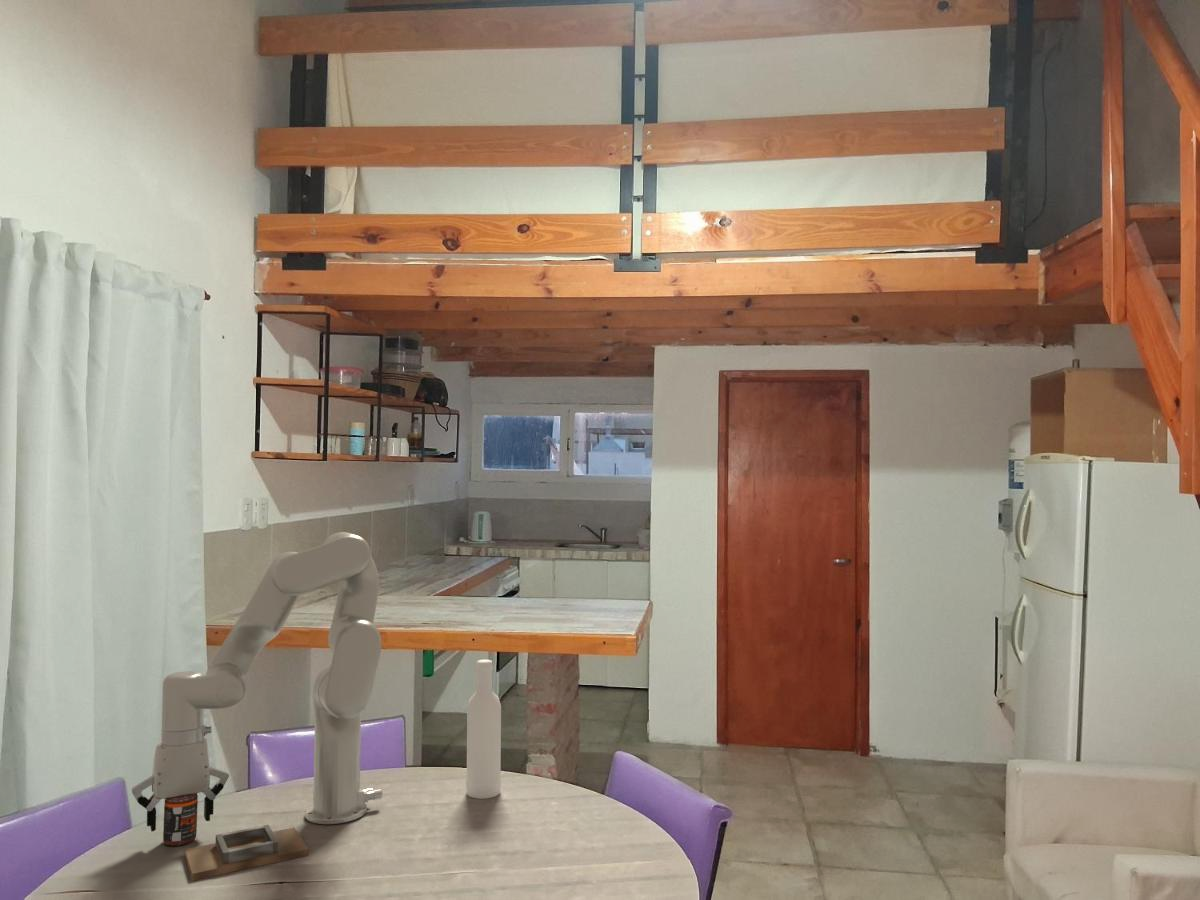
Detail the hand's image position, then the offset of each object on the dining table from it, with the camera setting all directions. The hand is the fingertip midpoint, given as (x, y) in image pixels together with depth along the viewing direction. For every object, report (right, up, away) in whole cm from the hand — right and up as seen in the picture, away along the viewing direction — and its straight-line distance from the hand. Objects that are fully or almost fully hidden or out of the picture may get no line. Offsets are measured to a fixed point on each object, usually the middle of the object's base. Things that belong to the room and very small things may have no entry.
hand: (180, 823), depth 167 cm
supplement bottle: (0, -4, 0) cm, 4 cm away
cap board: (+16, -3, -7) cm, 18 cm away
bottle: (+56, -5, +27) cm, 62 cm away
